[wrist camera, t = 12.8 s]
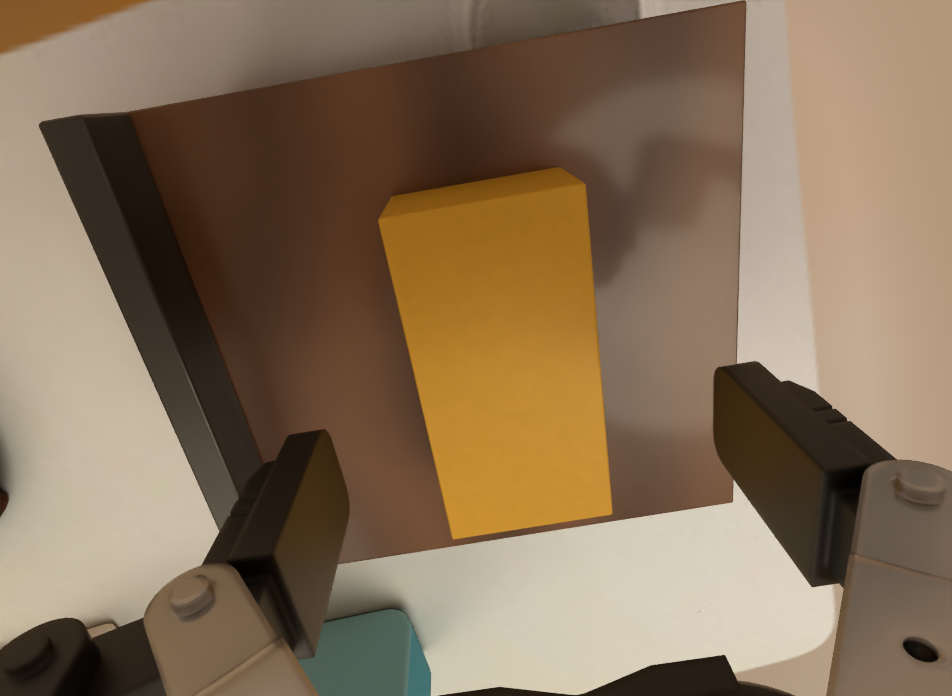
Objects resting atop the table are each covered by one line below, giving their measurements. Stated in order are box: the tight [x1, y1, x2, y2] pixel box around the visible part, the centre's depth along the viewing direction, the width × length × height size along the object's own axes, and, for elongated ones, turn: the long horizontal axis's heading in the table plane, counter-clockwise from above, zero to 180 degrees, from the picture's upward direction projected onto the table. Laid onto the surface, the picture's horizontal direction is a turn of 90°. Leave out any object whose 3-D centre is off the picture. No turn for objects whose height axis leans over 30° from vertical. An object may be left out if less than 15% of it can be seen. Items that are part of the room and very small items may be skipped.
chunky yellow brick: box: [378, 167, 613, 539], centre depth 15 cm, size 4×9×3 cm, turn 9°
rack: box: [39, 0, 746, 564], centre depth 20 cm, size 16×15×11 cm
